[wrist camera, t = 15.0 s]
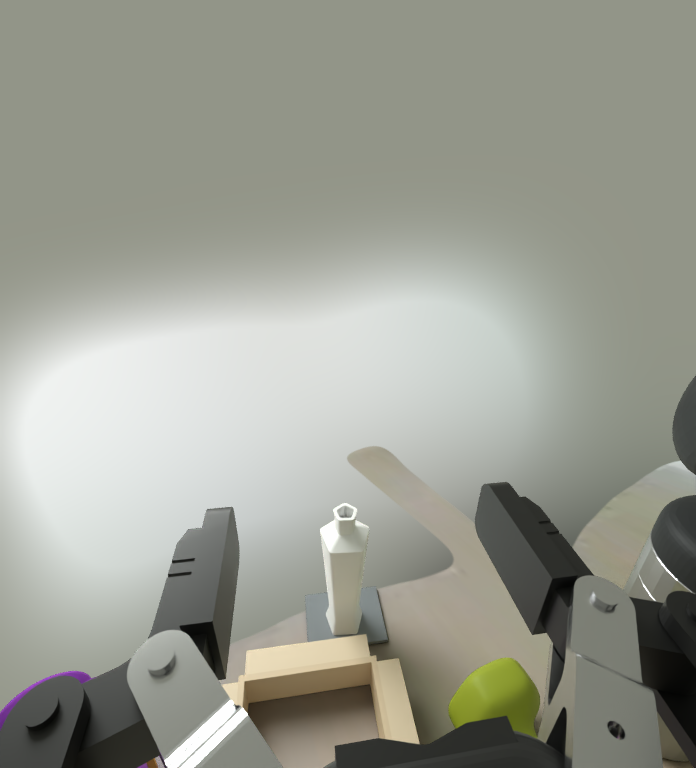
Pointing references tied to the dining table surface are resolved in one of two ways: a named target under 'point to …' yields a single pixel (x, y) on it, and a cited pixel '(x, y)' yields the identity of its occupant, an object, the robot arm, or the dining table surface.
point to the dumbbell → (497, 696)
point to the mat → (368, 624)
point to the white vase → (344, 568)
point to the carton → (328, 679)
